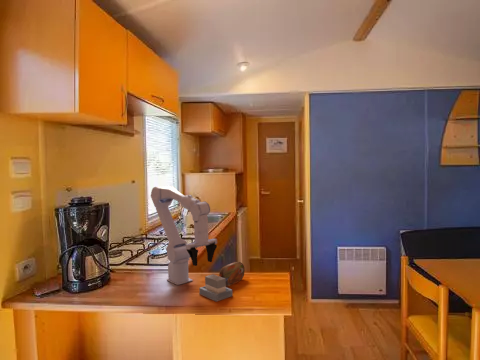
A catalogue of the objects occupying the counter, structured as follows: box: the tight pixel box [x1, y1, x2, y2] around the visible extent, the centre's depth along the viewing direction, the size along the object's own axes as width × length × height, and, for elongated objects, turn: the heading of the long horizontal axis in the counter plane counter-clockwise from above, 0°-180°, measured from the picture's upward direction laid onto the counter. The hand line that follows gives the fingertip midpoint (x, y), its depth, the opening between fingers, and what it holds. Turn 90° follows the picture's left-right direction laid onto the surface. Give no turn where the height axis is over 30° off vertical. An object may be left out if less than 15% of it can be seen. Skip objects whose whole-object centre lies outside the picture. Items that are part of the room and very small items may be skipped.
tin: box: [218, 261, 246, 287], centre depth 152 cm, size 15×3×8 cm, turn 143°
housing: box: [204, 273, 227, 294], centre depth 138 cm, size 4×8×6 cm, turn 42°
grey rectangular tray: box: [199, 285, 233, 302], centre depth 138 cm, size 11×8×2 cm
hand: (202, 263), depth 146 cm, fingers open, 7 cm apart
